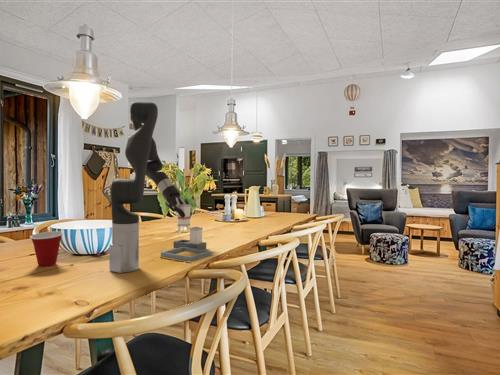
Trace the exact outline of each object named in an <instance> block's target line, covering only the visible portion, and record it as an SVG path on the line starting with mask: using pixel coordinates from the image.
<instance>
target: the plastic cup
mask: <svg viewBox="0 0 500 375" xmlns="http://www.w3.org/2000/svg"><path fill="white" fill-rule="evenodd" d="M63 234H64V233H63V232H62V231H56V230H55V231H54V230H53V231H45V232H39V233H34V234H32V235H30V236H29V238H30V239H31V241H32V243H33V246H34V247H33V248H34V252H35V257H36V262H37V264H38V267H42V268H43V267H51V266H55V265H56V264H57V260H58V255H59V250H60V245H61V240H62V236H63Z"/></svg>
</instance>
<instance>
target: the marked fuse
mask: <svg viewBox="0 0 500 375" xmlns="http://www.w3.org/2000/svg"><path fill="white" fill-rule="evenodd" d="M189 204H190V203H189ZM189 204H180V205H179V206H180V208H181V209H182V211H183V212H184V213H185V217H184V218H182V217H181V216H180V215H179V214H178V213H177V226H178V227H190V226H191V217H190V212H191V204H190V205H189Z"/></svg>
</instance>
